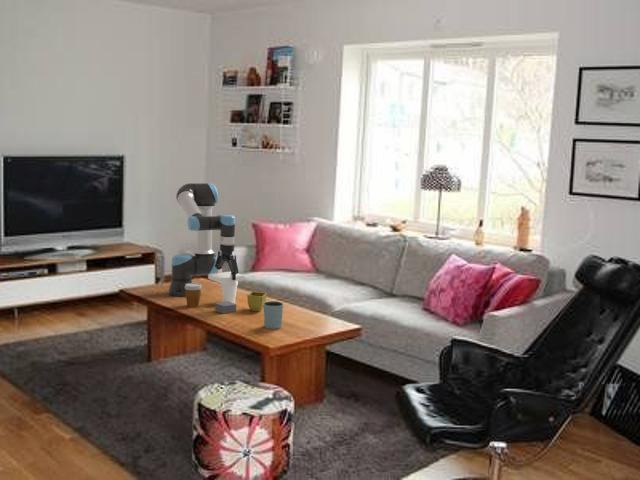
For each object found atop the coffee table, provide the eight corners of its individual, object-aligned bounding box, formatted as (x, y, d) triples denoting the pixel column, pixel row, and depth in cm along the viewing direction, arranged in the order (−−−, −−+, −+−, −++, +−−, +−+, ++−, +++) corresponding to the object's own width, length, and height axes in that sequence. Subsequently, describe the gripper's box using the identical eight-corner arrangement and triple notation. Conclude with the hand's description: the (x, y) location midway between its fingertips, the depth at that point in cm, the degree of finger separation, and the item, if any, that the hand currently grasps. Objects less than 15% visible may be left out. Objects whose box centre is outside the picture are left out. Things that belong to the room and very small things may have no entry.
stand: (215, 310, 393) (215, 303, 392) (227, 308, 398) (227, 301, 397) (223, 313, 387) (223, 306, 386) (235, 311, 392) (236, 304, 392)
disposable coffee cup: (182, 304, 402) (182, 283, 400) (199, 303, 406) (199, 282, 404) (186, 308, 394) (186, 287, 392) (203, 307, 397) (204, 286, 395)
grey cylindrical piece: (279, 330, 361) (280, 306, 359) (260, 328, 363) (260, 304, 361) (284, 324, 371) (285, 301, 369) (265, 323, 373) (266, 300, 371)
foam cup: (226, 305, 404) (227, 282, 402) (217, 302, 411) (217, 279, 409) (240, 303, 410) (241, 280, 408) (231, 299, 417) (231, 277, 415)
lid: (208, 278, 390) (208, 274, 389) (231, 275, 399) (231, 271, 399) (220, 283, 381) (220, 278, 380) (244, 280, 390) (244, 275, 390)
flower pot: (261, 312, 392) (262, 296, 391) (246, 311, 394) (246, 295, 393) (266, 308, 401) (266, 292, 399) (251, 307, 402) (251, 291, 401)
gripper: (208, 240, 393) (208, 279, 397) (234, 248, 375) (232, 289, 379) (220, 239, 398) (219, 278, 402) (246, 247, 380) (244, 287, 384)
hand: (226, 283), depth 390 cm, fingers closed on lid, 12 cm apart
